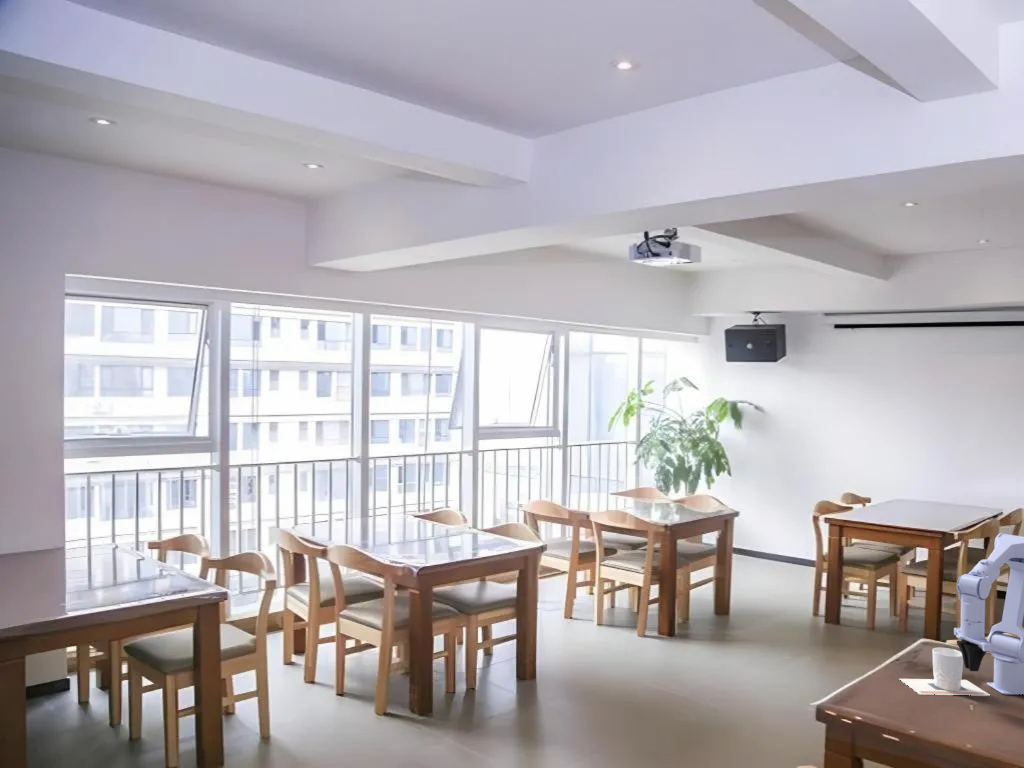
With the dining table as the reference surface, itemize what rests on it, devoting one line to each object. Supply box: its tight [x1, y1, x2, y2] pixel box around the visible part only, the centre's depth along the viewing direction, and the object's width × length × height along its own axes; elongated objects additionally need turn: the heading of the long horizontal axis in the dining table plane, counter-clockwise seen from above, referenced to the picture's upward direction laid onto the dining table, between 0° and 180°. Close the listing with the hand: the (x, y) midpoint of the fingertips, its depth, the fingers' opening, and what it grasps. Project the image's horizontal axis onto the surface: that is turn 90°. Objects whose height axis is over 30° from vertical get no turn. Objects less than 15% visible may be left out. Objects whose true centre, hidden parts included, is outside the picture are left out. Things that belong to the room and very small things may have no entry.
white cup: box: [931, 647, 964, 691], centre depth 231 cm, size 8×8×10 cm
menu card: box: [898, 678, 991, 697], centre depth 231 cm, size 20×12×1 cm, turn 90°
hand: (971, 669), depth 219 cm, fingers closed
